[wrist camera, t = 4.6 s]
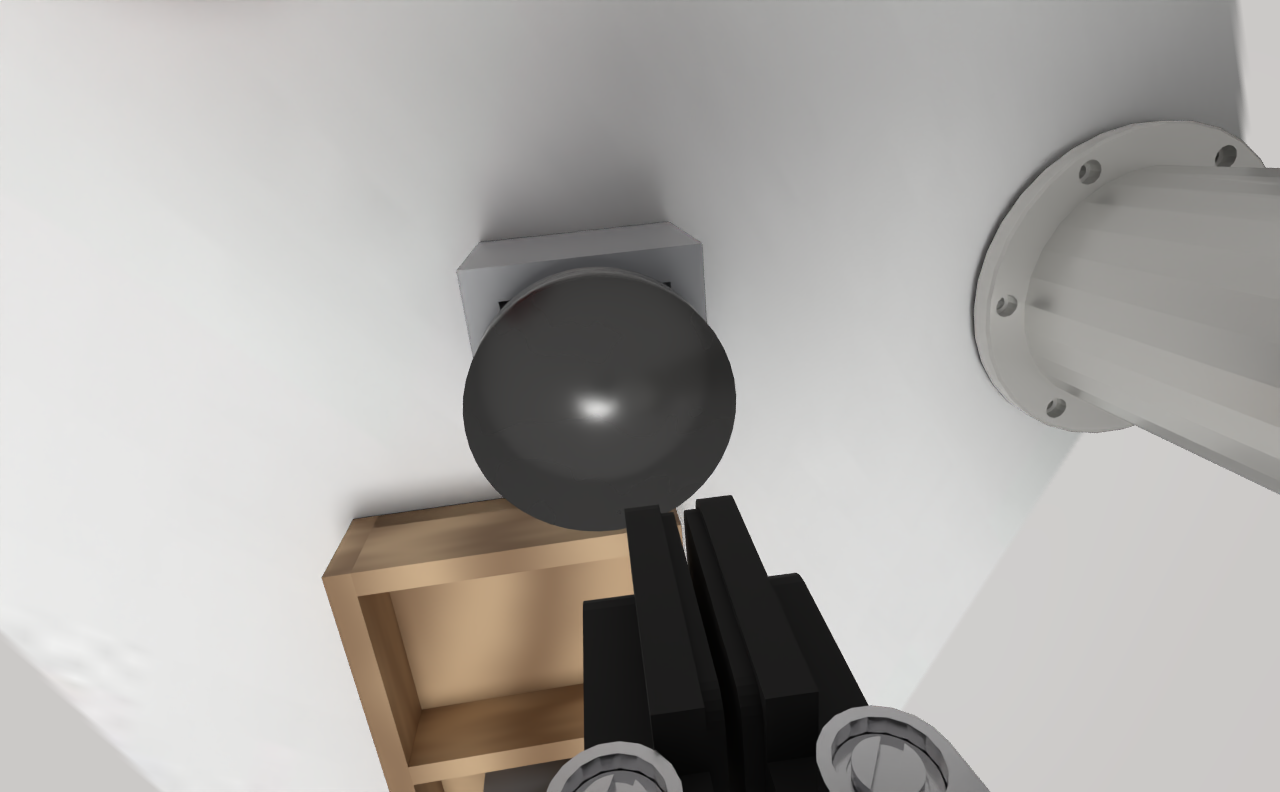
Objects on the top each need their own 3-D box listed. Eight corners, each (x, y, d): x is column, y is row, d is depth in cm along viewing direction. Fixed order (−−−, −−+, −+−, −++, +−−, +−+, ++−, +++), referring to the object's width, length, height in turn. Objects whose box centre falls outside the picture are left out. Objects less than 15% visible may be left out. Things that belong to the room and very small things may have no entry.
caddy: (664, 475, 28) (691, 555, 23) (694, 806, 36) (720, 929, 30) (353, 519, 27) (302, 614, 22) (448, 851, 35) (427, 986, 29)
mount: (668, 221, 25) (702, 243, 19) (682, 396, 27) (714, 460, 22) (478, 242, 24) (456, 270, 19) (510, 419, 27) (498, 490, 21)
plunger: (672, 223, 24) (730, 261, 16) (685, 403, 27) (741, 511, 19) (476, 245, 23) (437, 294, 16) (509, 426, 26) (489, 548, 18)
